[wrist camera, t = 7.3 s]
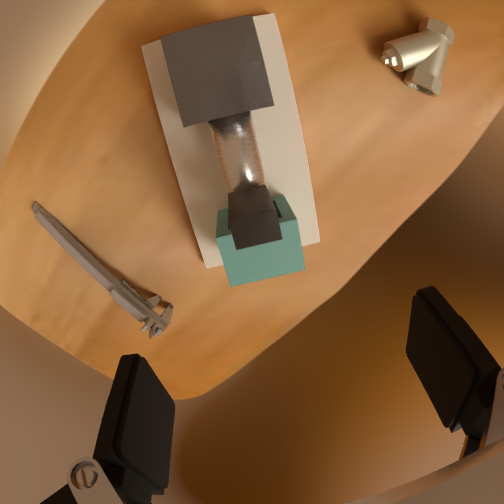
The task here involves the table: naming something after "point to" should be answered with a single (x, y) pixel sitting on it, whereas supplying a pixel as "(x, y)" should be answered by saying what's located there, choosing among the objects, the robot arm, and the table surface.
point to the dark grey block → (217, 70)
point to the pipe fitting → (421, 56)
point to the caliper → (107, 277)
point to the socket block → (261, 249)
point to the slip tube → (244, 181)
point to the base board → (268, 136)
